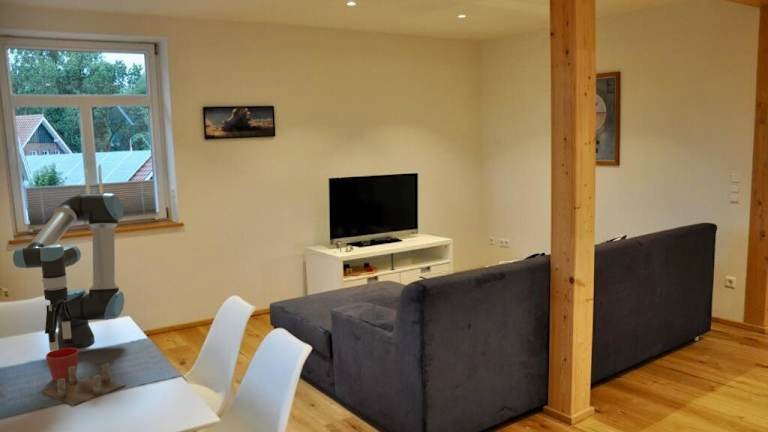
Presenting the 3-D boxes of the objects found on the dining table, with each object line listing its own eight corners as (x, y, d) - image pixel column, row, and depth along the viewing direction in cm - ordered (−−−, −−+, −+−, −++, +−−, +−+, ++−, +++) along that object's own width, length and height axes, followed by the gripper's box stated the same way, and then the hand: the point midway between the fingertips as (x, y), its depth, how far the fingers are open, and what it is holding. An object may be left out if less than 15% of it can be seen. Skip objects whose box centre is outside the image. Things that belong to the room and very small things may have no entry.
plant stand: (96, 375, 230) (95, 358, 229) (125, 386, 219) (124, 368, 218) (44, 393, 215) (42, 375, 214) (72, 406, 204) (70, 387, 203)
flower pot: (87, 374, 232) (85, 349, 230) (61, 385, 222) (58, 359, 220) (68, 370, 236) (65, 345, 235) (41, 381, 226) (39, 355, 225)
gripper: (56, 281, 236) (61, 334, 238) (30, 296, 211) (36, 356, 214) (77, 279, 237) (82, 333, 240) (54, 295, 213) (59, 354, 215)
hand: (61, 344), depth 227 cm, fingers open, 13 cm apart
